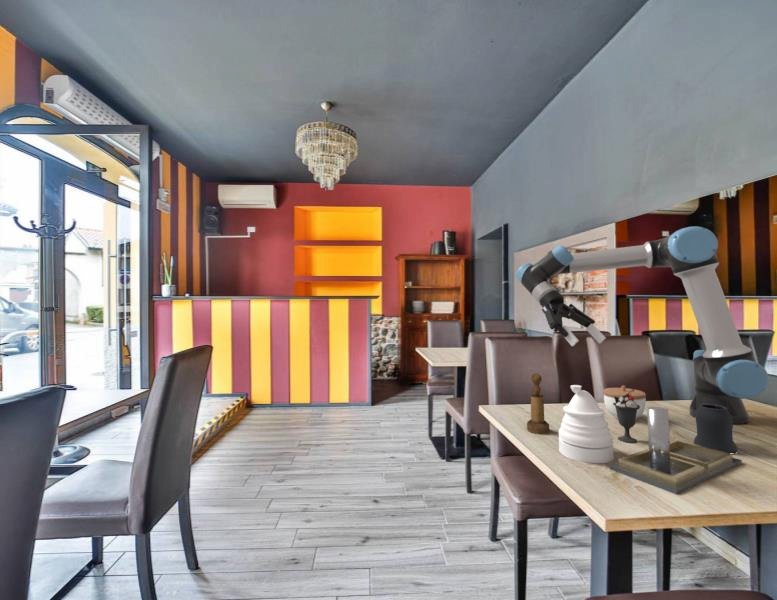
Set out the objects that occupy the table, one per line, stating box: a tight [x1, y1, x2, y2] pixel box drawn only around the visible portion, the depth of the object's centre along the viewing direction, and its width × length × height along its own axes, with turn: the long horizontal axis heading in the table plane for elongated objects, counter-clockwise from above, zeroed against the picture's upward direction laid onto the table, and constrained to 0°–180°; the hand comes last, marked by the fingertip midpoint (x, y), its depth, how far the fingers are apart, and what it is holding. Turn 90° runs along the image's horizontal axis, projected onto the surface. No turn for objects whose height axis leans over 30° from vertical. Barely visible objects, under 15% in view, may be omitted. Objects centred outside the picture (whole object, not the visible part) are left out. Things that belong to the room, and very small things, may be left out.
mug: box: [692, 404, 739, 453], centre depth 101 cm, size 12×9×11 cm
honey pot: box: [558, 384, 615, 464], centre depth 99 cm, size 13×13×18 cm
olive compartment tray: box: [609, 406, 743, 495], centre depth 90 cm, size 30×14×15 cm, turn 117°
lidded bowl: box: [602, 385, 647, 420], centre depth 129 cm, size 13×13×11 cm
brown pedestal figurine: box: [526, 373, 550, 435], centre depth 118 cm, size 7×6×18 cm
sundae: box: [613, 388, 640, 444], centre depth 107 cm, size 7×7×15 cm
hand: (589, 342), depth 117 cm, fingers open, 13 cm apart
